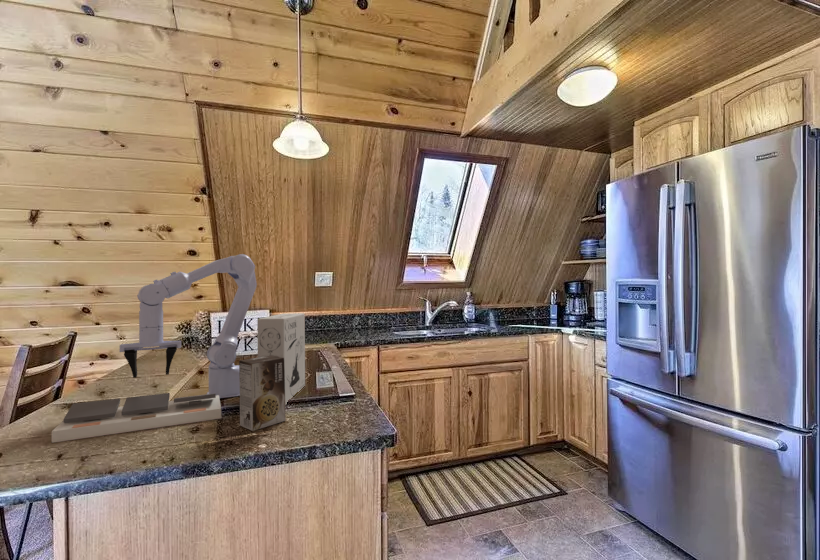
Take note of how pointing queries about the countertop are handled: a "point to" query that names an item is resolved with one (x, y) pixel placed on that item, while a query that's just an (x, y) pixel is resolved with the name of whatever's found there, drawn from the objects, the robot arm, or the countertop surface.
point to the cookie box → (262, 392)
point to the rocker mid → (146, 404)
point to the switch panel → (140, 420)
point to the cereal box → (285, 347)
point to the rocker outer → (92, 410)
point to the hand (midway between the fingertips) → (151, 375)
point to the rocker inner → (194, 398)
